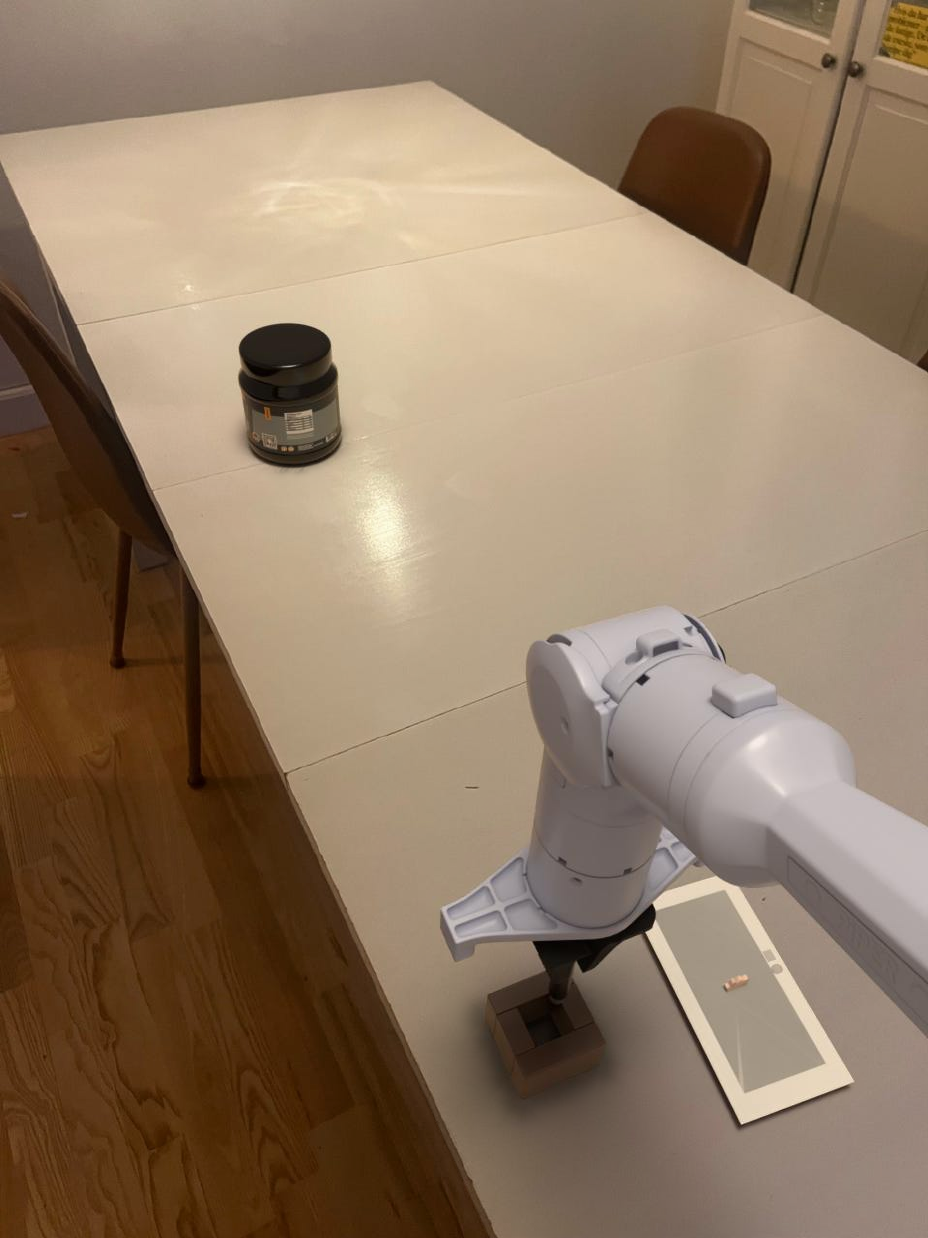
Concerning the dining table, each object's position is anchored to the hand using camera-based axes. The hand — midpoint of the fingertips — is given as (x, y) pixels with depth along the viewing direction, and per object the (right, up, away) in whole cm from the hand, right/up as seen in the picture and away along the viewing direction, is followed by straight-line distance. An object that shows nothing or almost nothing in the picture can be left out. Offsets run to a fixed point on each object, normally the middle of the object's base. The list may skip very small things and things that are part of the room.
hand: (565, 961), depth 53 cm
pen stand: (-1, -8, +7) cm, 10 cm away
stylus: (0, -3, +3) cm, 5 cm away
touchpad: (+12, -6, +10) cm, 16 cm away
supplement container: (-25, +39, +54) cm, 71 cm away
